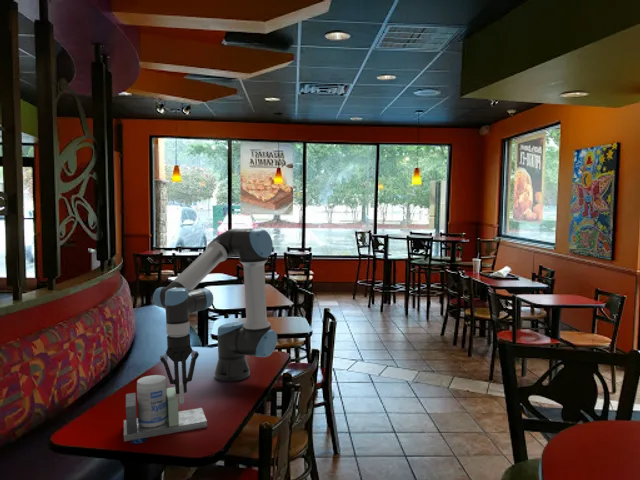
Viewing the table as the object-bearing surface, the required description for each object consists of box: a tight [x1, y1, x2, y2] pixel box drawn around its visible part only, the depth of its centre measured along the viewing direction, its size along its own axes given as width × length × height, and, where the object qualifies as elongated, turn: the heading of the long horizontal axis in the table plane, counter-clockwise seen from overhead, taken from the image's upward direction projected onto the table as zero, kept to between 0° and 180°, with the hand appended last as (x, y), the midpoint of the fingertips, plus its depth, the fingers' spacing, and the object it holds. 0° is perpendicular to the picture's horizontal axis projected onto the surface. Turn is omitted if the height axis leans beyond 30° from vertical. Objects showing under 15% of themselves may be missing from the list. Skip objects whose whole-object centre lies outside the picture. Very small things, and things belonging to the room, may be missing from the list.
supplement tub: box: [136, 374, 168, 427], centre depth 165 cm, size 10×10×15 cm
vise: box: [123, 392, 208, 442], centre depth 166 cm, size 26×12×11 cm, turn 111°
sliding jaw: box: [167, 386, 179, 427], centre depth 167 cm, size 3×12×9 cm, turn 21°
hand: (181, 402), depth 168 cm, fingers closed
